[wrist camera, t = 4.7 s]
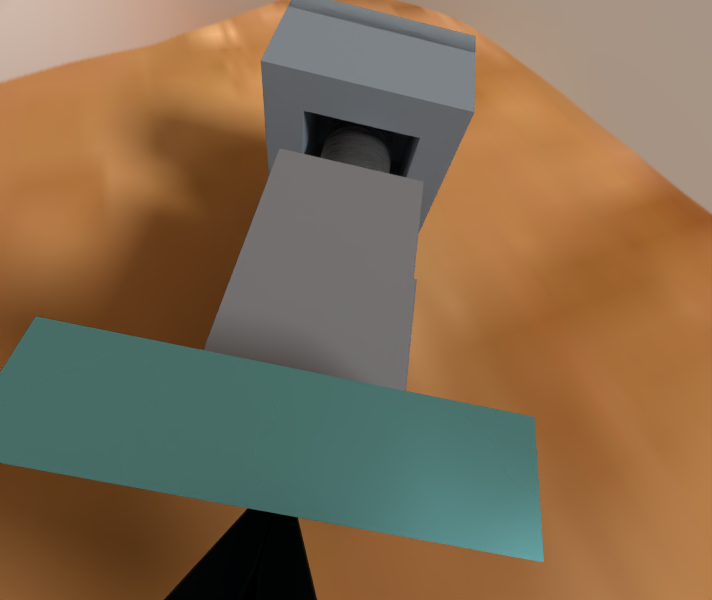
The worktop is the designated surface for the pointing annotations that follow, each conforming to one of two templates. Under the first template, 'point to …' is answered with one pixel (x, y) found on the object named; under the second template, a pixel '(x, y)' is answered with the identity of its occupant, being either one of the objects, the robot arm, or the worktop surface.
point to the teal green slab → (273, 428)
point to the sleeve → (326, 273)
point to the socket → (369, 85)
